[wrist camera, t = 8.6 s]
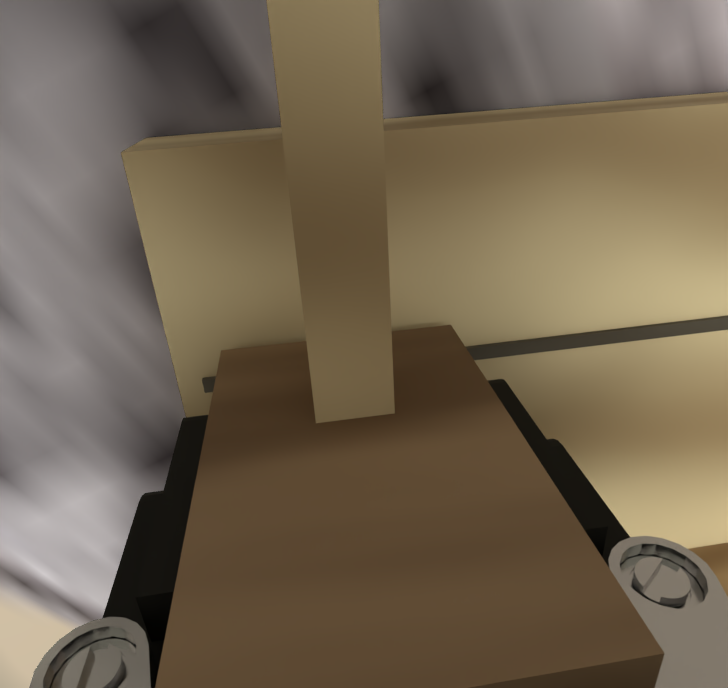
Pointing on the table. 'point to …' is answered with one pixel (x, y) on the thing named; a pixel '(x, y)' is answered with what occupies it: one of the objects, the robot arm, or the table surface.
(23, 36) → the table surface
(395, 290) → the board
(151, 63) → the table surface
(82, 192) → the table surface
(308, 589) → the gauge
